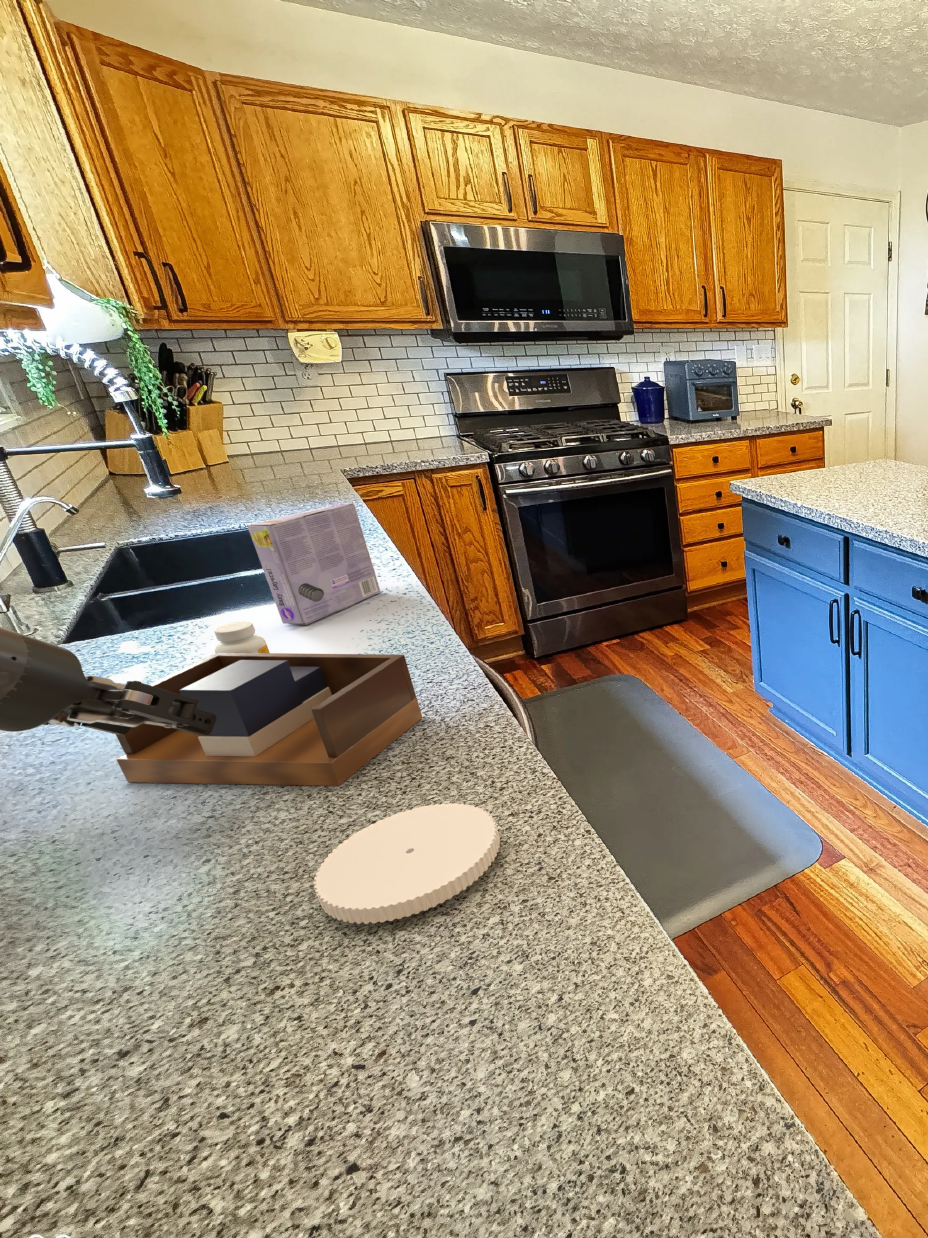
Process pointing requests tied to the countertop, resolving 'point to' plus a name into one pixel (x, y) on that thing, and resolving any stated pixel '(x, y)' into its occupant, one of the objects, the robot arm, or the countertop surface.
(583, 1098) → the countertop surface
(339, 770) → the wooden tray
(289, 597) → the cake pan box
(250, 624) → the supplement bottle
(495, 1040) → the countertop surface
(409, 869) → the plastic lid
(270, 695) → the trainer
